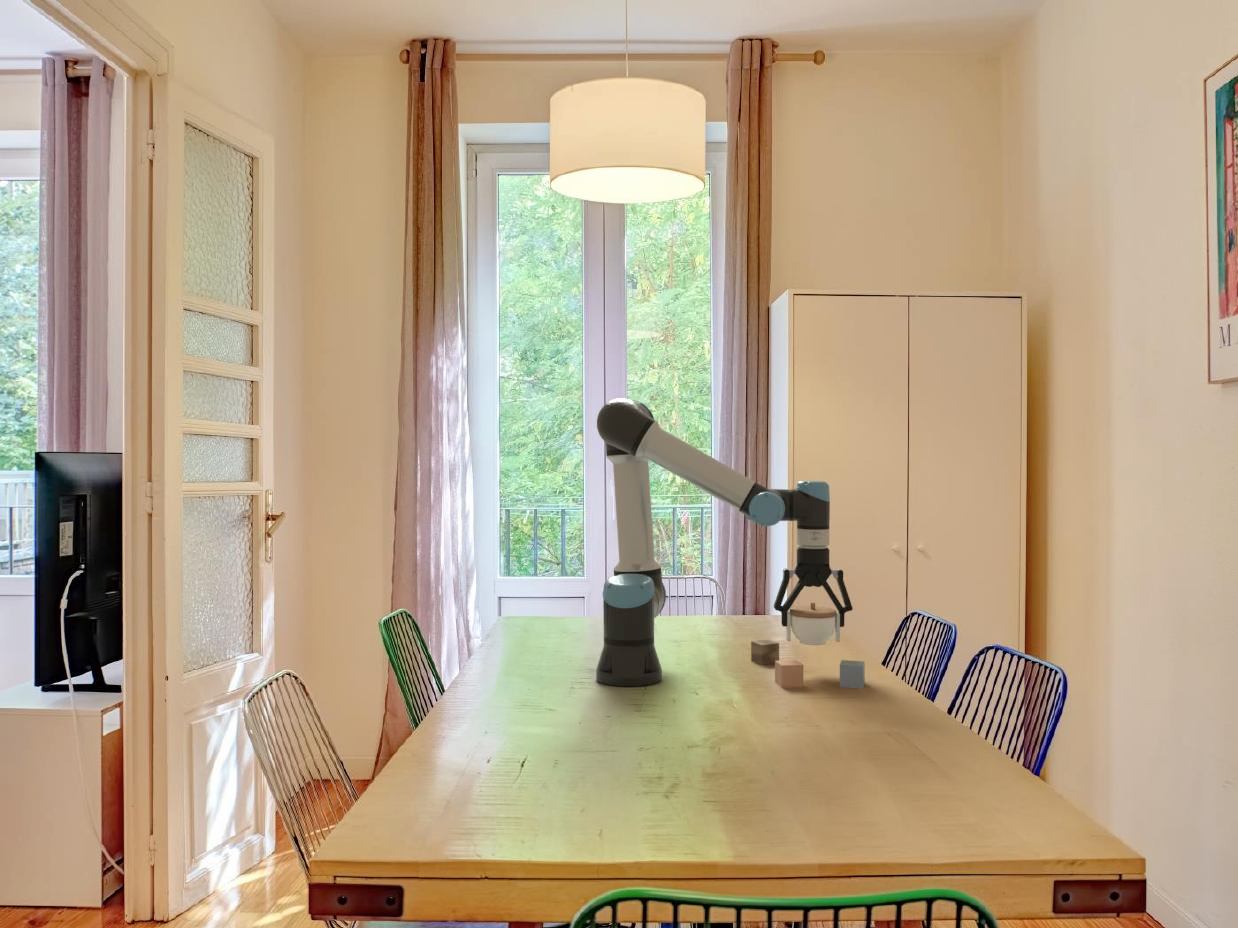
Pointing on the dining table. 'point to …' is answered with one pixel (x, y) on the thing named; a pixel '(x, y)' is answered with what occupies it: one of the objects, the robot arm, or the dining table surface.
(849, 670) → the cube slate
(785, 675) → the cube terracotta
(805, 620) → the lidded jar
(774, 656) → the cube walnut
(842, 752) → the dining table surface
